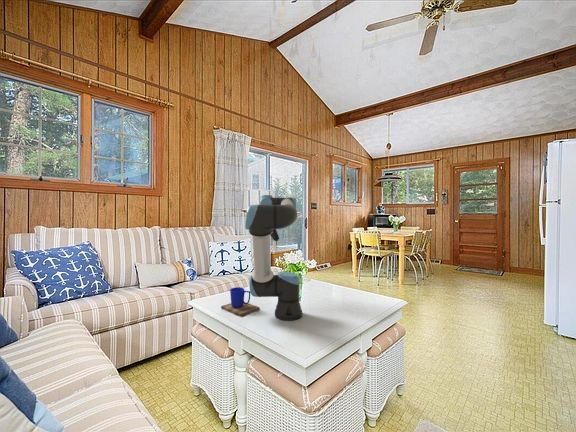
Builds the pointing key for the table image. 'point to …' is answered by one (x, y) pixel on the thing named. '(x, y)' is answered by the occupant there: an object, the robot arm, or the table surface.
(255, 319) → the table surface
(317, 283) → the table surface
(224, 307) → the walnut board
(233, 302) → the mug
